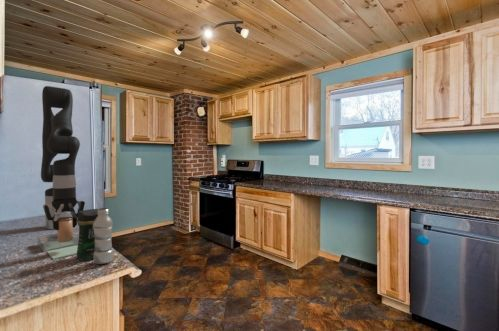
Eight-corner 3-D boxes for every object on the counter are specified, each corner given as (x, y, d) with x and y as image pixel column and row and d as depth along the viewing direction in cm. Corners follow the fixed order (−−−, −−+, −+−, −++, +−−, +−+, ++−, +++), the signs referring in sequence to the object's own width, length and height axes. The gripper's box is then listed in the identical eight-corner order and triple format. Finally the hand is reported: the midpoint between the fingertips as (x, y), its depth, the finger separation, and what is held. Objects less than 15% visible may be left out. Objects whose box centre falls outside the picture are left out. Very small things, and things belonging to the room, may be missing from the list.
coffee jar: (81, 263, 96) (80, 213, 95) (74, 257, 101) (74, 209, 100) (109, 256, 103) (109, 209, 102) (101, 250, 108) (101, 206, 108)
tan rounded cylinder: (55, 240, 105) (55, 218, 105) (71, 237, 109) (70, 216, 109) (59, 243, 102) (58, 220, 101) (74, 240, 106) (74, 218, 105)
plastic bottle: (105, 267, 93) (104, 211, 92) (88, 265, 94) (88, 210, 93) (117, 260, 99) (117, 207, 98) (102, 258, 101) (101, 206, 100)
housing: (37, 244, 113) (37, 236, 113) (70, 238, 122) (70, 231, 122) (43, 252, 105) (43, 243, 105) (78, 244, 114) (78, 237, 114)
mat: (47, 252, 105) (47, 251, 105) (76, 246, 113) (76, 245, 113) (53, 259, 99) (53, 258, 99) (83, 252, 106) (83, 251, 106)
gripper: (82, 184, 112) (82, 223, 113) (39, 186, 102) (40, 230, 102) (87, 185, 107) (88, 226, 108) (43, 188, 97) (44, 234, 97)
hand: (65, 228), depth 105 cm, fingers closed on tan rounded cylinder, 5 cm apart
